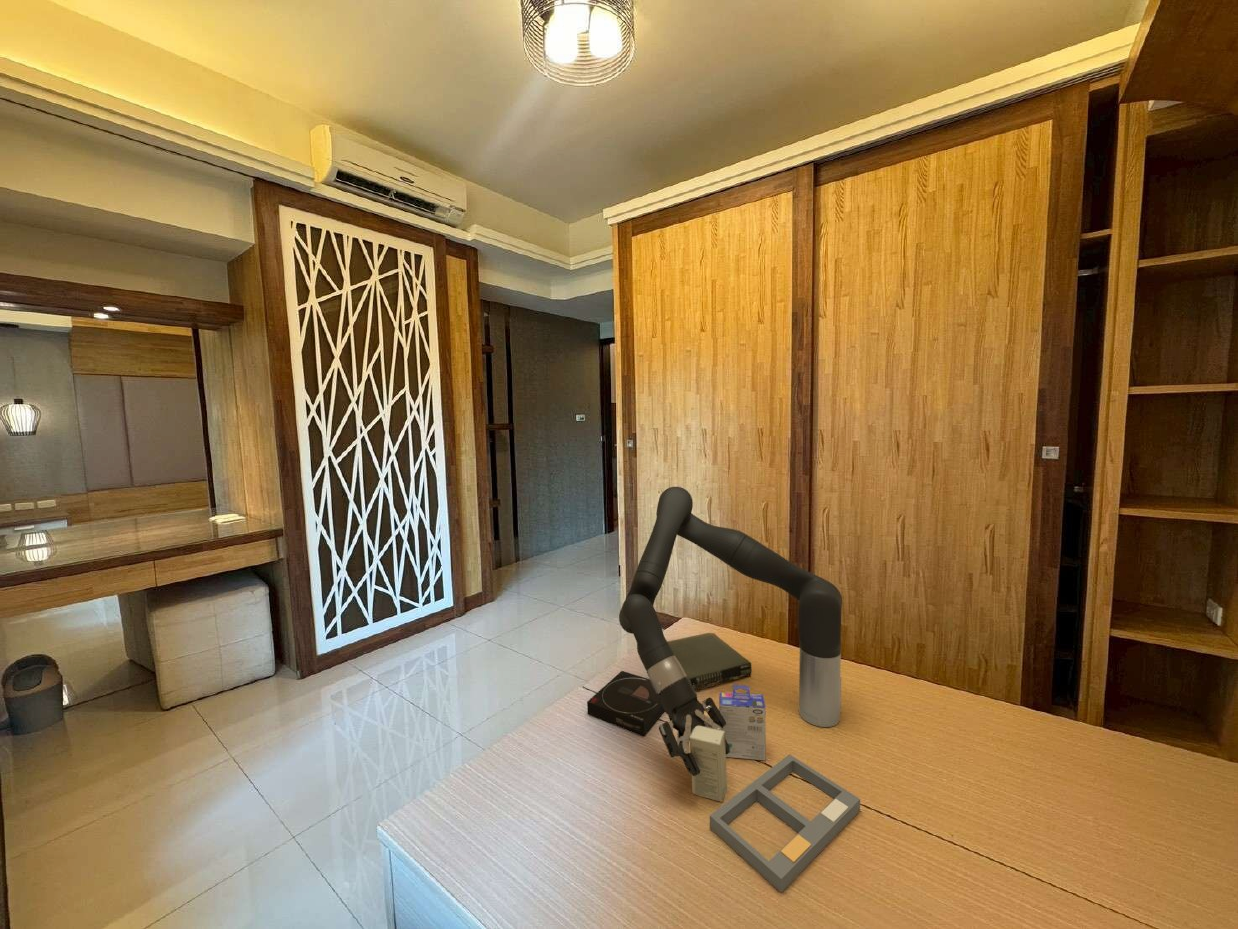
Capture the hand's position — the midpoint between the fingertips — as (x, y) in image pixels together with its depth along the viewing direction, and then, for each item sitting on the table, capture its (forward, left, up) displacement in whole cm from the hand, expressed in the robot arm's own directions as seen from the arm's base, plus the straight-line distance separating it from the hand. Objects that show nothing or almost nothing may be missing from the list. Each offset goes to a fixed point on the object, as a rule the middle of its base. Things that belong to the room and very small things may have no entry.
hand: (712, 764), depth 93 cm
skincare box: (0, -1, -7) cm, 7 cm away
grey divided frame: (-6, +13, -6) cm, 15 cm away
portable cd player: (-5, -32, -7) cm, 33 cm away
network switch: (-32, -34, -7) cm, 47 cm away
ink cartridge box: (-14, -4, -7) cm, 16 cm away
